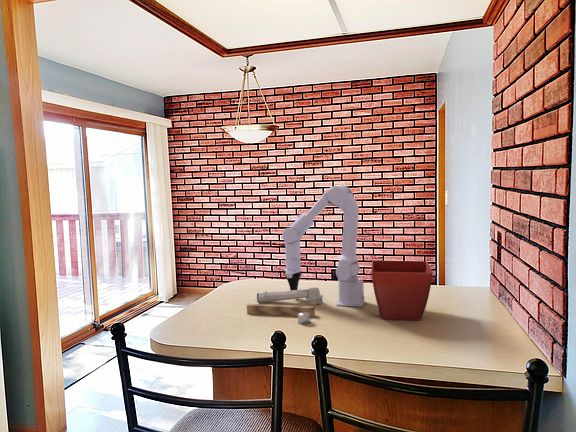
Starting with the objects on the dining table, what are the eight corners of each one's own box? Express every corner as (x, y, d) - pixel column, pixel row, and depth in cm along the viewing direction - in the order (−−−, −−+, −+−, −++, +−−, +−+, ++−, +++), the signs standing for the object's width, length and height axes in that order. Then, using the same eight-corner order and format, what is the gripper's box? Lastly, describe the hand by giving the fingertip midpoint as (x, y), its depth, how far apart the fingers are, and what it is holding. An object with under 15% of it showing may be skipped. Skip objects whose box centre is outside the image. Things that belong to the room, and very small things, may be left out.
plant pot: (433, 324, 144) (433, 272, 143) (371, 322, 148) (371, 271, 146) (427, 307, 163) (427, 260, 161) (372, 305, 166) (372, 260, 165)
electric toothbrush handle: (259, 290, 179) (321, 283, 173) (262, 307, 179) (324, 300, 174) (255, 294, 174) (319, 286, 168) (258, 311, 174) (322, 304, 169)
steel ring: (311, 321, 152) (311, 312, 151) (308, 324, 148) (308, 315, 147) (299, 320, 152) (299, 311, 152) (296, 324, 149) (296, 315, 148)
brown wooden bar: (314, 314, 158) (314, 306, 158) (313, 316, 156) (313, 307, 156) (249, 311, 164) (248, 303, 164) (247, 313, 162) (246, 305, 161)
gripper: (287, 254, 187) (288, 287, 188) (278, 261, 173) (279, 296, 174) (304, 254, 185) (305, 287, 186) (296, 261, 171) (297, 297, 172)
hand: (293, 291), depth 180 cm, fingers closed
